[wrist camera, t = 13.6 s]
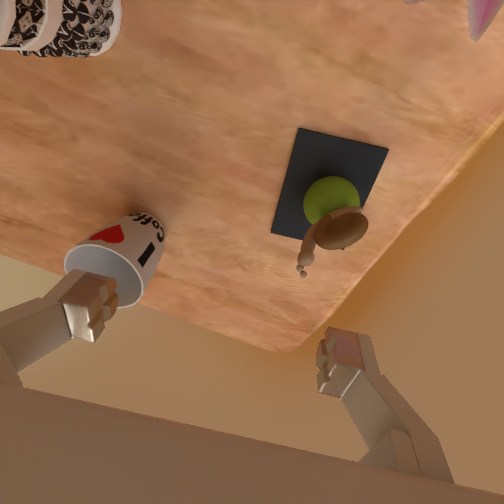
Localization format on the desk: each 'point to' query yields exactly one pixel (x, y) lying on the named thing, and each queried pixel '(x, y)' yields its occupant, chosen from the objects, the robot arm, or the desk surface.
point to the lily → (477, 14)
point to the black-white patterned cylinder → (59, 26)
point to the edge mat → (323, 175)
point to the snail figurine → (331, 218)
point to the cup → (122, 254)
